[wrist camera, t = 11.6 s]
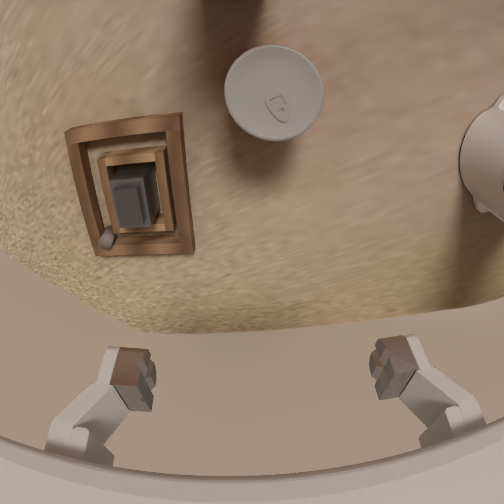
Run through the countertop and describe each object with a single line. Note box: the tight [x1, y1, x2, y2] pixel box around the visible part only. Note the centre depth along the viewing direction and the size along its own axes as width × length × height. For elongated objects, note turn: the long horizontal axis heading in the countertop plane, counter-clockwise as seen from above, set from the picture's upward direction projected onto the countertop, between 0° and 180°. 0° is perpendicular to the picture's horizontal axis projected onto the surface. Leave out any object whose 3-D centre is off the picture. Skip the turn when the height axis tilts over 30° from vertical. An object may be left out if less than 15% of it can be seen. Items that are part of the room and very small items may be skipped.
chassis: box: [64, 112, 195, 256], centre depth 36 cm, size 14×18×3 cm
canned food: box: [224, 44, 324, 141], centre depth 27 cm, size 8×8×11 cm
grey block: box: [109, 162, 160, 228], centre depth 35 cm, size 4×6×6 cm, turn 1°
